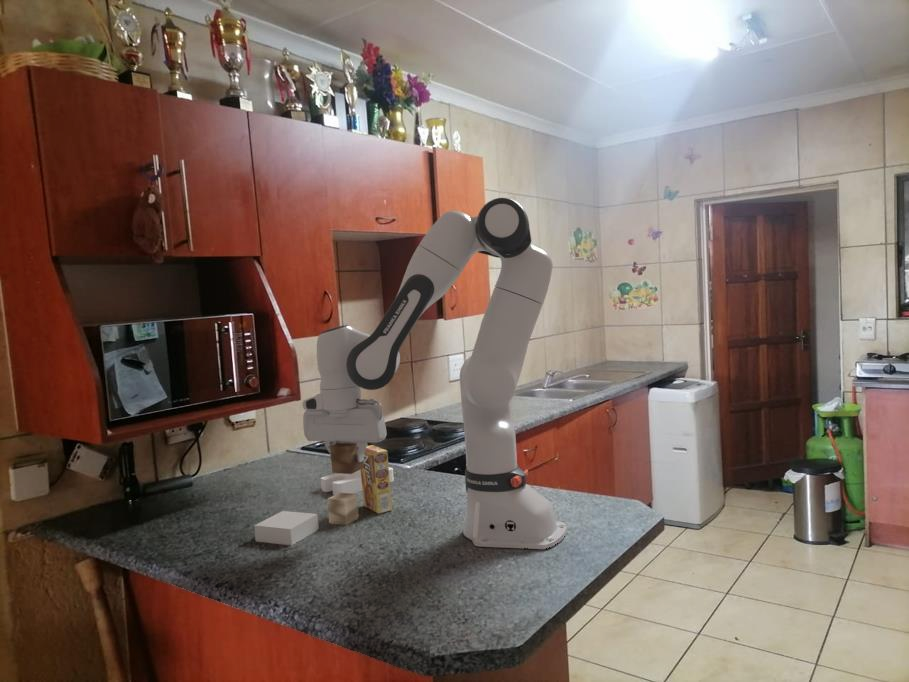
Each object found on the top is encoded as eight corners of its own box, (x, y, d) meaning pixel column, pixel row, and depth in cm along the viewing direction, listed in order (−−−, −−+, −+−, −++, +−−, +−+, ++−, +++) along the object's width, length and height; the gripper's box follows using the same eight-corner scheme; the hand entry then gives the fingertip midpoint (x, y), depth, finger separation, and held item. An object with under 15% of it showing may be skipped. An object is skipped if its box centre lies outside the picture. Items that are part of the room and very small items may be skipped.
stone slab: (318, 530, 151) (317, 514, 151) (292, 546, 142) (290, 529, 142) (283, 527, 155) (282, 510, 155) (255, 542, 146) (254, 525, 146)
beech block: (358, 518, 157) (356, 494, 157) (346, 525, 153) (344, 500, 152) (341, 516, 159) (339, 492, 159) (329, 523, 155) (327, 498, 155)
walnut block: (364, 467, 145) (361, 441, 145) (351, 474, 141) (348, 446, 141) (345, 466, 148) (343, 440, 147) (332, 472, 143) (329, 446, 143)
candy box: (393, 510, 161) (388, 449, 160) (377, 514, 159) (373, 453, 158) (377, 502, 168) (372, 444, 167) (362, 506, 166) (357, 447, 165)
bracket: (339, 497, 175) (336, 456, 175) (320, 491, 183) (316, 451, 182) (395, 481, 188) (392, 442, 187) (375, 475, 196) (372, 438, 195)
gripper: (388, 396, 141) (394, 458, 142) (314, 397, 151) (320, 455, 151) (372, 401, 136) (379, 466, 137) (296, 402, 145) (302, 462, 146)
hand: (347, 460), depth 144 cm, fingers closed on walnut block, 5 cm apart
